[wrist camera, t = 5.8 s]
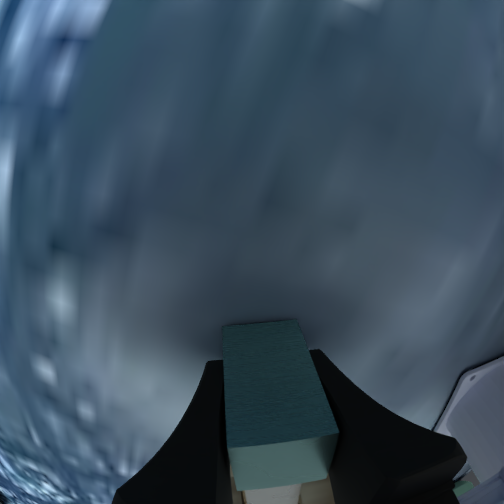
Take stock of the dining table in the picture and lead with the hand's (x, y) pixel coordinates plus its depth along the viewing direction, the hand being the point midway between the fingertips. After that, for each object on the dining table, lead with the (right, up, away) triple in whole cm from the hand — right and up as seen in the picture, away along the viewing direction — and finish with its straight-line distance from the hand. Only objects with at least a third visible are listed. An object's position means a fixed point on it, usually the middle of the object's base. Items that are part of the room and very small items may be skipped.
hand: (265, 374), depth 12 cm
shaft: (0, -9, +6) cm, 11 cm away
